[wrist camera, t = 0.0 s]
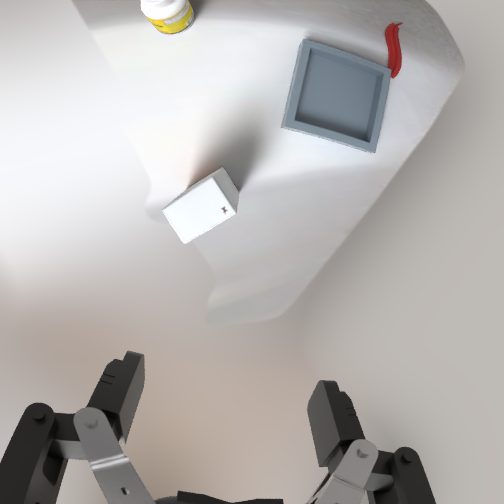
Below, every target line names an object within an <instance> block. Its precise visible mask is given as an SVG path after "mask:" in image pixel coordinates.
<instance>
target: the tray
mask: <svg viewBox="0 0 504 504" xmlns="http://www.w3.org/2000/svg"><path fill="white" fill-rule="evenodd" d="M390 76H391V69H389V68H386V67H384V66H382V65H379V64H377V63H374V62H372V61H369V60H367V59H364V58H362V57H359V56H356V55H354V54H351V53H348V52H345V51H342V50H339V49H336V48H333V47H330V46H327V45H324V44H321V43H317V42H314V41H310V40H307V39H303V41H302V43H301V44H300V46H299V50H298V55H297V59H296V64H295V68H294V72H293V77H292V81H291V86H290V90H289V95H288V99H287V103H286V108H285V112H284V117H283V121H282V125H281V128H285V129H289V130H293V131H297V132H301V133H305V134H308V135H312V136H316V137H319V138H323V139H326V140H330V141H333V142H337V143H340V144H343V145H346V146H350V147H353V148H356V149H359V150H362V151H365V152H372V153H375V151H376V147H377V142H378V138H379V133H380V129H381V124H382V119H383V114H384V109H385V104H386V99H387V93H388V88H389V82H390Z"/></svg>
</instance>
